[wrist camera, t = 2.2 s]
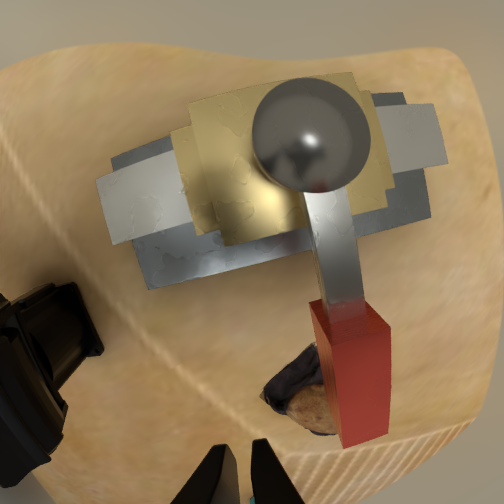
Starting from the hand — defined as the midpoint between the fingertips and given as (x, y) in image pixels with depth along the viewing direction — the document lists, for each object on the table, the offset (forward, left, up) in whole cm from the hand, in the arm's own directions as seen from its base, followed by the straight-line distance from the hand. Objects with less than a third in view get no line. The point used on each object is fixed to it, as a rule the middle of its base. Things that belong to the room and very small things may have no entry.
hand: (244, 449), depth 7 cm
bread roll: (-11, -4, -14) cm, 18 cm away
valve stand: (+8, -4, -13) cm, 16 cm away
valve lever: (+4, -4, -4) cm, 7 cm away
